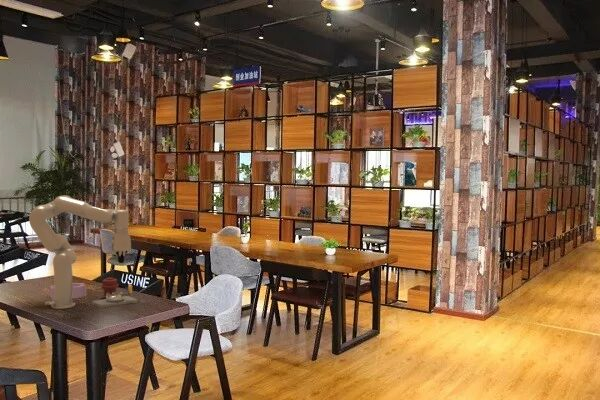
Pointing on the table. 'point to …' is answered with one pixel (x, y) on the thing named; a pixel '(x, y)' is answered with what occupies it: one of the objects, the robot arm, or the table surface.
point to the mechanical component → (109, 285)
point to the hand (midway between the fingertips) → (121, 262)
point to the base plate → (104, 303)
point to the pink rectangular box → (78, 290)
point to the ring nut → (118, 295)
